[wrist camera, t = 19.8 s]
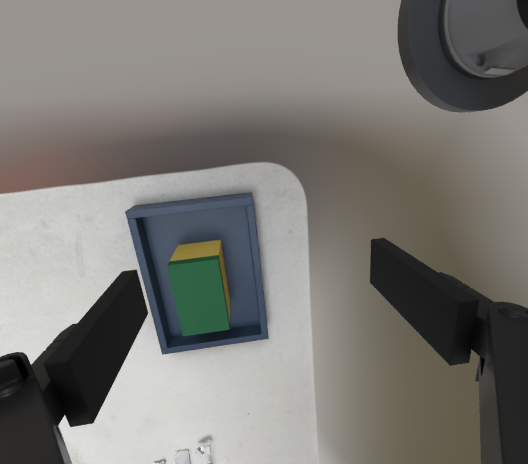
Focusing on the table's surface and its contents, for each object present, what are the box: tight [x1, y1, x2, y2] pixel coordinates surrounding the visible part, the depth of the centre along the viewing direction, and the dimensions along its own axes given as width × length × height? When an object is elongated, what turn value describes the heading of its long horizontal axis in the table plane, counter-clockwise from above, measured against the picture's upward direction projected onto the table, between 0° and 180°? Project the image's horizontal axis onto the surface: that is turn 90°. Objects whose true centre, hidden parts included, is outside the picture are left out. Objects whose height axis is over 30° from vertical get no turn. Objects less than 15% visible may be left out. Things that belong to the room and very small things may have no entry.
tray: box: [125, 193, 268, 354], centre depth 41 cm, size 22×16×3 cm
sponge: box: [167, 240, 230, 336], centre depth 38 cm, size 10×6×7 cm, turn 6°
